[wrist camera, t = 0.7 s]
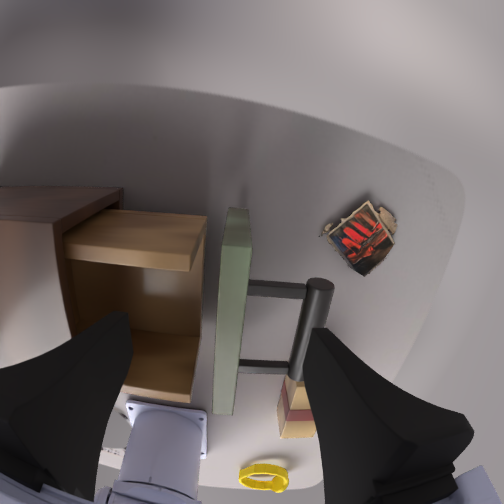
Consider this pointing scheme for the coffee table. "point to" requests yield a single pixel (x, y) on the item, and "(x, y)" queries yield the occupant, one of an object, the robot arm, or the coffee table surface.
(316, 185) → the coffee table surface
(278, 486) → the yellow rubber band ring
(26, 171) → the coffee table surface
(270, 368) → the pullout
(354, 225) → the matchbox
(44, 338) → the cabinet
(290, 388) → the tan red striped block
